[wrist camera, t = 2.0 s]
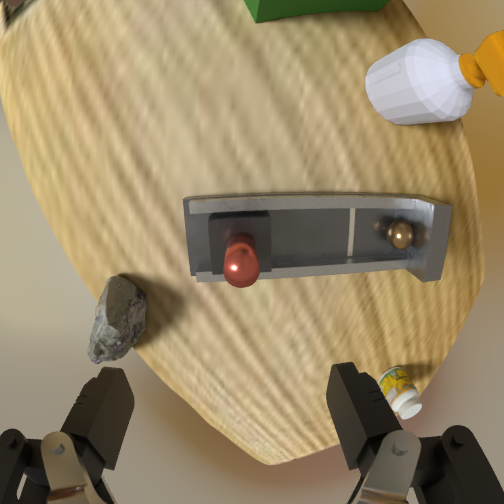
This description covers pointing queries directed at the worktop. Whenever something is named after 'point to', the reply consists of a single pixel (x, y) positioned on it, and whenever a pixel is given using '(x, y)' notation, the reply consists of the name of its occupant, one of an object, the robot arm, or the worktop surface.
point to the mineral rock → (117, 320)
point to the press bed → (331, 232)
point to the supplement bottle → (400, 392)
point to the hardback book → (307, 7)
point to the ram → (240, 246)
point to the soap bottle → (433, 80)
